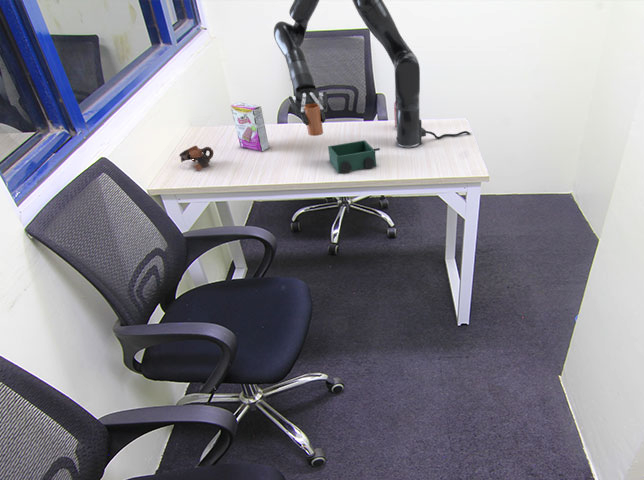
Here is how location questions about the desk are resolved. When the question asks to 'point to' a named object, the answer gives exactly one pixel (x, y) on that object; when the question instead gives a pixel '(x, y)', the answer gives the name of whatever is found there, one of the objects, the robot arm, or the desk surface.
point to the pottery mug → (197, 156)
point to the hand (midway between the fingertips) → (315, 122)
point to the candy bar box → (250, 126)
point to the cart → (351, 154)
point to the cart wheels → (368, 164)
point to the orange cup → (313, 119)
